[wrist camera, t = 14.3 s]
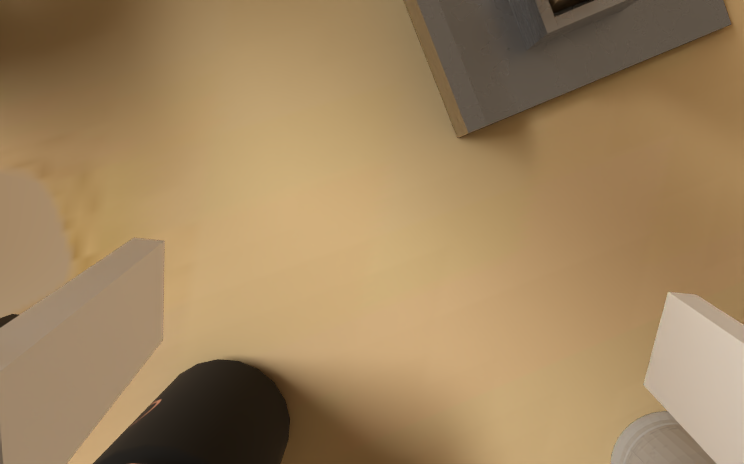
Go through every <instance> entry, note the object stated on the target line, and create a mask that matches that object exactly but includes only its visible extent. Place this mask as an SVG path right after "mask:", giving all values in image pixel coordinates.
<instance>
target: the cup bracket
mask: <svg viewBox="0 0 744 464" xmlns="http://www.w3.org/2000/svg"><path fill="white" fill-rule="evenodd" d="M404 3H405V5H406V8H407V11H408V13H409V16H410V18H411V21H412V23H413V26H414V28H415V31H416V34H417V36H418V39H419V41H420V44H421V46H422V49H423V51H424V54H425V56H426V59H427V62H428V64H429V67H430V69H431V72H432V74H433V77H434V79H435V82H436V84H437V87H438V90H439V92H440V95H441V97H442V100H443V102H444V105H445V107H446V110H447V112H448V115H449V118H450V120H451V123H452V125H453V128H454V130H455V133H456V135H457V138H459V137H461V136H464V135H466V134H469V133H471V132H473V131H476V130H478V129H481V128H483V127H485V126H488V125H490V124H493V123H495V122H497V121H500V120H502V119H505V118H507V117H509V116H512V115H514V114H517V113H519V112H521V111H524V110H526V109H529V108H531V107H534V106H536V105H538V104H541V103H543V102H546V101H548V100H550V99H553V98H555V97H558V96H560V95H562V94H565V93H567V92H570V91H572V90H574V89H577V88H579V87H582V86H584V85H586V84H589V83H591V82H594V81H596V80H599V79H601V78H603V77H606V76H608V75H611V74H613V73H615V72H618V71H620V70H623V69H625V68H627V67H630V66H632V65H635V64H637V63H639V62H642V61H644V60H647V59H649V58H652V57H654V56H656V55H659V54H661V53H664V52H666V51H668V50H671V49H673V48H676V47H678V46H680V45H683V44H685V43H688V42H690V41H692V40H695V39H697V38H700V37H702V36H704V35H707V34H709V33H712V32H714V31H717V30H719V29H721V28H724V27H726V26H728V25H731V22H730V19H729V16H728V13H727V10H726V7H725V4H724V1H723V0H586V1H584V2H581V3H579V4H576V5H574V6H571V7H569V8H566V9H564V10H561V11H559V12H556V13H554V14H553V11H552V9H551V6H550V3H549V1H548V0H404Z"/></svg>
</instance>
